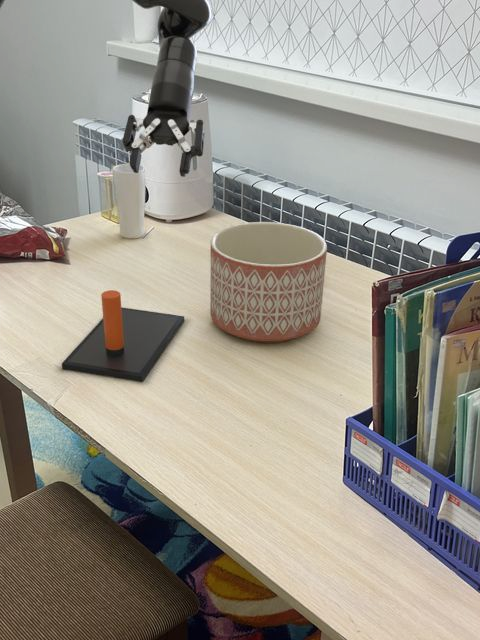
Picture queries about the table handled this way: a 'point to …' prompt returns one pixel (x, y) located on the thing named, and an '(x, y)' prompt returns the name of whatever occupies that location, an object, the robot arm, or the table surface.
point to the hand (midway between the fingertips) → (158, 172)
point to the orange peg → (113, 322)
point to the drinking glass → (130, 199)
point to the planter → (267, 280)
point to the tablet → (126, 346)
